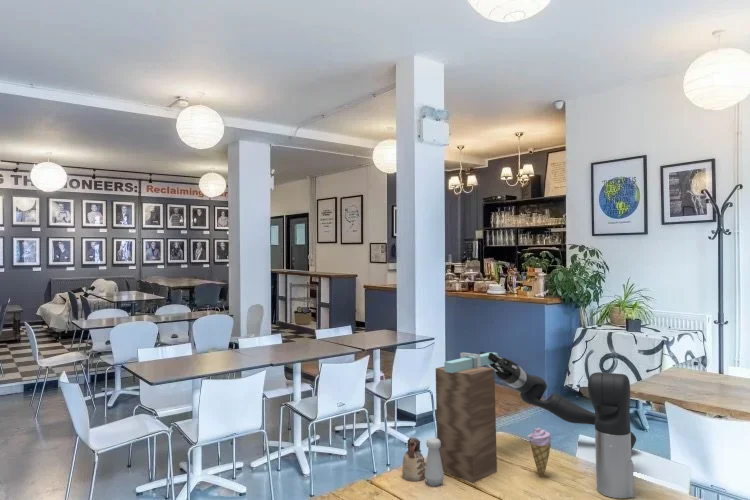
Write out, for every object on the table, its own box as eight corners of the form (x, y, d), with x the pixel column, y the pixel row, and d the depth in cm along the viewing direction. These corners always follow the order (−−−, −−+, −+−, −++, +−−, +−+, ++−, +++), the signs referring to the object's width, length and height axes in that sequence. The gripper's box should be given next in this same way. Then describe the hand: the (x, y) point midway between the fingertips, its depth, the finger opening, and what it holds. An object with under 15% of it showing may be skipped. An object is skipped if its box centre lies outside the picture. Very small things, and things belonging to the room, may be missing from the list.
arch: (480, 368, 163) (480, 354, 163) (477, 368, 162) (477, 355, 162) (463, 365, 168) (463, 352, 168) (460, 366, 167) (460, 352, 167)
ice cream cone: (527, 477, 156) (525, 427, 156) (531, 470, 161) (529, 422, 162) (550, 481, 153) (548, 430, 153) (553, 473, 158) (551, 424, 159)
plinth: (496, 471, 161) (494, 368, 162) (473, 482, 153) (470, 374, 154) (461, 459, 171) (459, 363, 172) (437, 469, 163) (435, 368, 164)
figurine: (428, 474, 160) (427, 435, 160) (421, 483, 153) (420, 442, 154) (406, 470, 163) (406, 432, 163) (399, 479, 156) (398, 439, 156)
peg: (490, 361, 175) (490, 352, 175) (498, 362, 172) (497, 353, 172) (444, 371, 159) (444, 361, 159) (452, 373, 156) (451, 363, 156)
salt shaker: (443, 488, 149) (442, 443, 150) (423, 486, 151) (422, 442, 151) (444, 479, 155) (443, 436, 156) (425, 478, 156) (425, 435, 157)
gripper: (526, 387, 173) (500, 368, 164) (491, 380, 184) (464, 362, 174) (531, 366, 176) (506, 346, 166) (497, 361, 187) (471, 342, 177)
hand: (485, 354), depth 170 cm, fingers closed on peg, 3 cm apart
